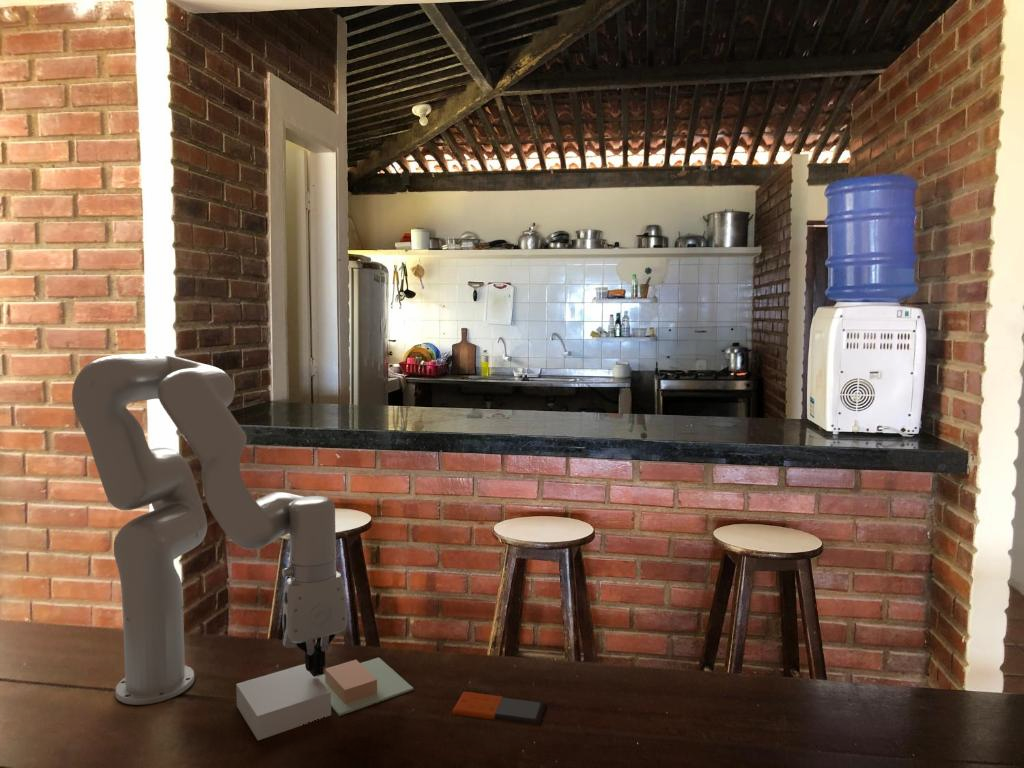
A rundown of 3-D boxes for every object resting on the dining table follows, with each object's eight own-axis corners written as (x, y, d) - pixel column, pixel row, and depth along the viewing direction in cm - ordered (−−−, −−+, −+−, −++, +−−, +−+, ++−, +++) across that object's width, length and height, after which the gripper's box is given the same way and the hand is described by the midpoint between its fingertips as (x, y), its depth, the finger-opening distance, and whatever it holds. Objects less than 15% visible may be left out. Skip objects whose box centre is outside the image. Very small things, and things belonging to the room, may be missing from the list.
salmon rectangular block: (356, 659, 127) (356, 672, 127) (325, 668, 123) (325, 681, 124) (377, 679, 120) (377, 693, 120) (344, 690, 116) (344, 704, 116)
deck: (236, 706, 116) (236, 683, 116) (305, 684, 123) (305, 663, 123) (257, 740, 107) (257, 716, 106) (331, 715, 114) (330, 692, 113)
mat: (309, 680, 125) (309, 678, 125) (378, 659, 133) (378, 657, 133) (339, 715, 114) (339, 713, 113) (413, 690, 122) (413, 687, 122)
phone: (463, 689, 121) (545, 700, 117) (463, 696, 121) (545, 707, 118) (451, 709, 114) (538, 721, 111) (451, 717, 115) (538, 729, 111)
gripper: (276, 585, 109) (278, 695, 110) (363, 566, 118) (364, 668, 119) (262, 572, 115) (265, 676, 116) (346, 555, 124) (347, 652, 125)
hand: (315, 672), depth 118 cm, fingers closed
